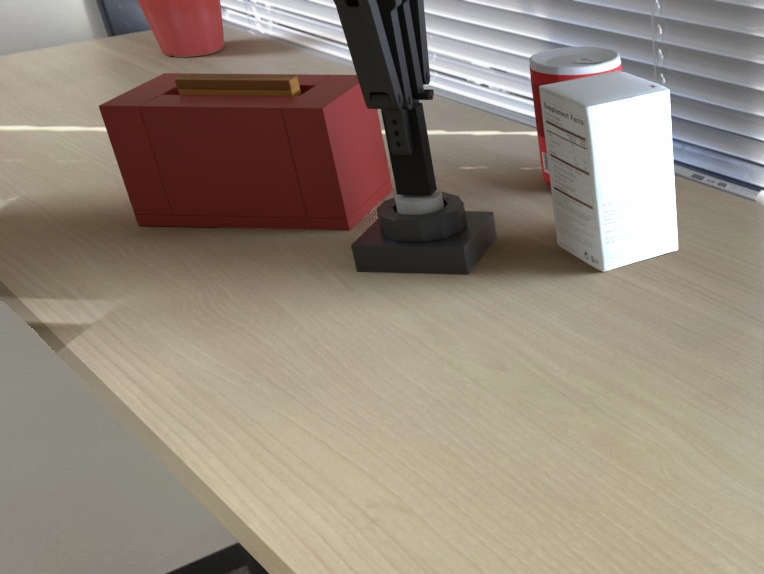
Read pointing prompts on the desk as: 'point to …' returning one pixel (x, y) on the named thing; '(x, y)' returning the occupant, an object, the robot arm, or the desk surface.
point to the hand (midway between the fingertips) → (417, 191)
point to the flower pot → (185, 26)
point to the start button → (419, 203)
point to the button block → (425, 240)
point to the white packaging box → (611, 168)
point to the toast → (238, 85)
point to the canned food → (565, 79)
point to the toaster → (249, 155)
